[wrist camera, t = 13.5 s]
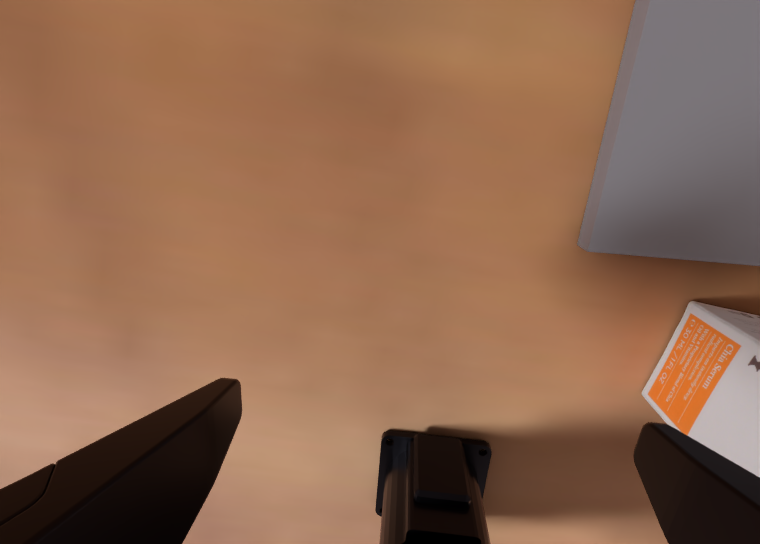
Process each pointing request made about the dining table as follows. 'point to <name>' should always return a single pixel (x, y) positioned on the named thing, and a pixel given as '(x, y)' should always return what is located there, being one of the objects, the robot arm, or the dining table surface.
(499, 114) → the dining table surface
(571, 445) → the dining table surface
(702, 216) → the slate tile
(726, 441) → the skincare box
